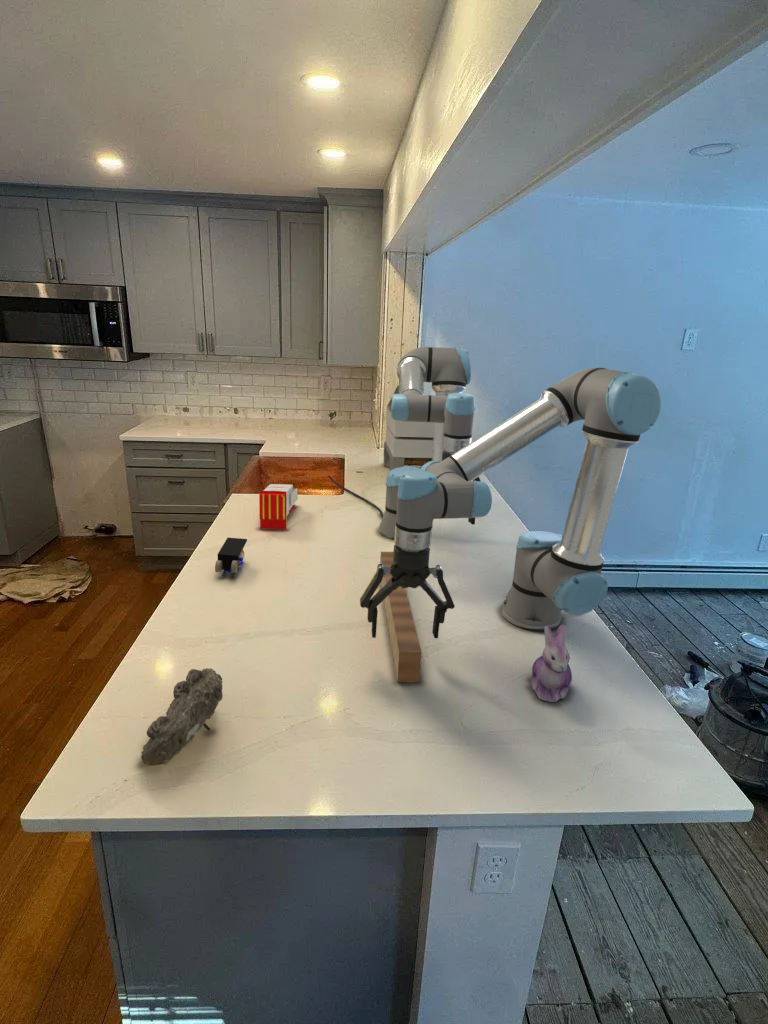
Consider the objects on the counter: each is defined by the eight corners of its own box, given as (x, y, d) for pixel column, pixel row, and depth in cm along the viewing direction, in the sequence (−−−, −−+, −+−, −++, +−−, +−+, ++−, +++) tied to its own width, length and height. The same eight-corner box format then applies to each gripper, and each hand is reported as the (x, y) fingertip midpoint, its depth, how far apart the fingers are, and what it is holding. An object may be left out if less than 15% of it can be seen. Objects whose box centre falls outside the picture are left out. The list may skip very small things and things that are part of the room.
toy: (299, 479, 223) (289, 492, 194) (299, 512, 226) (289, 530, 197) (268, 478, 223) (253, 491, 193) (268, 512, 225) (254, 529, 196)
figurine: (550, 710, 114) (561, 646, 109) (517, 681, 122) (526, 620, 117) (585, 697, 118) (597, 635, 113) (550, 670, 127) (560, 611, 121)
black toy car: (238, 584, 162) (249, 557, 175) (236, 562, 158) (247, 536, 172) (215, 584, 161) (227, 556, 175) (212, 561, 158) (225, 535, 171)
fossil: (171, 669, 114) (224, 637, 109) (205, 700, 117) (257, 670, 112) (115, 759, 95) (175, 724, 90) (157, 793, 97) (218, 762, 92)
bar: (379, 574, 169) (380, 551, 166) (395, 574, 169) (396, 551, 167) (397, 682, 121) (399, 652, 118) (419, 682, 121) (421, 652, 118)
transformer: (382, 463, 289) (386, 382, 275) (445, 464, 293) (451, 384, 279) (390, 482, 257) (394, 392, 243) (460, 483, 261) (468, 394, 247)
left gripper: (418, 456, 147) (413, 533, 154) (503, 453, 155) (495, 526, 162) (408, 450, 153) (404, 523, 161) (490, 447, 161) (482, 517, 168)
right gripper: (352, 551, 112) (347, 643, 120) (475, 554, 115) (463, 644, 122) (351, 537, 120) (347, 625, 127) (467, 540, 122) (456, 626, 129)
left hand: (449, 524), depth 161 cm, fingers open, 13 cm apart
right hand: (404, 634), depth 124 cm, fingers open, 13 cm apart
